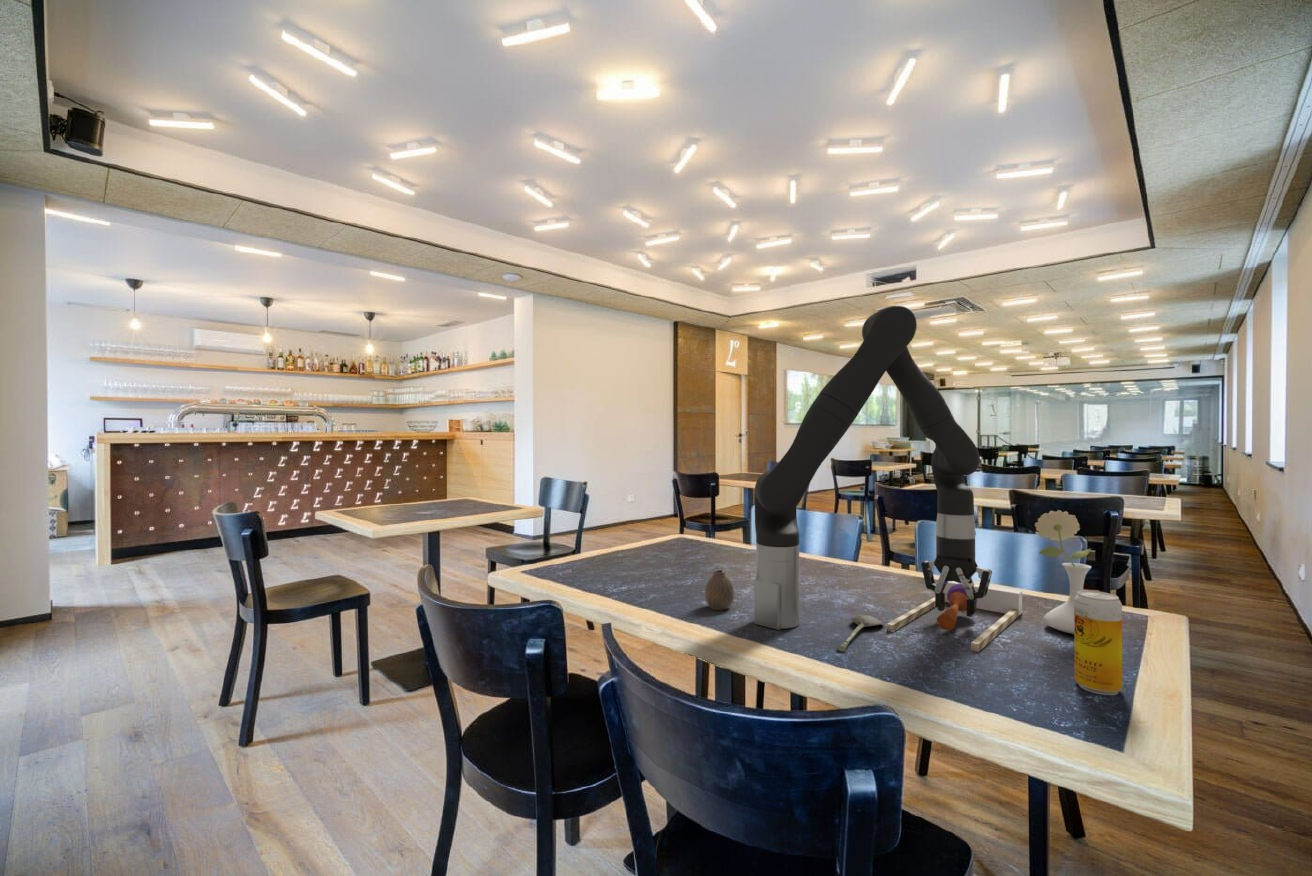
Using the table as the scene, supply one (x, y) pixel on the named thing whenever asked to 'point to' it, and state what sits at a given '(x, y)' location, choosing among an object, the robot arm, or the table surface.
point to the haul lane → (975, 645)
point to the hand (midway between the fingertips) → (955, 612)
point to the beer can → (1098, 642)
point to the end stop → (995, 598)
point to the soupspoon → (859, 628)
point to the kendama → (953, 606)
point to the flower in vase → (1057, 529)
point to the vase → (719, 591)
